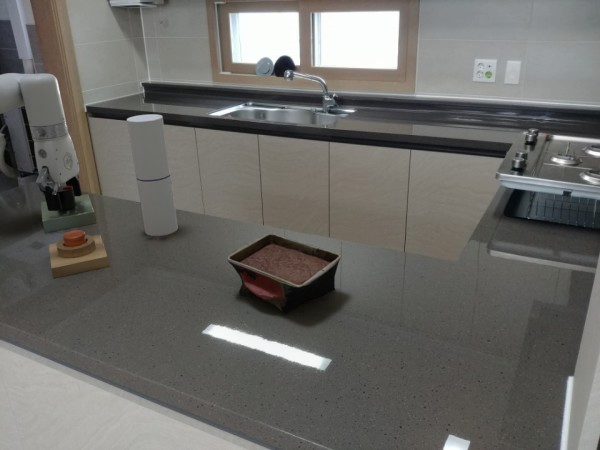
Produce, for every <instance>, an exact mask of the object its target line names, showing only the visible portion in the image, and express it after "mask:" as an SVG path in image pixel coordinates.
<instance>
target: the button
mask: <svg viewBox="0 0 600 450" xmlns="http://www.w3.org/2000/svg"><path fill="white" fill-rule="evenodd" d="M85 235H86V232H85V231H84V230H81V229H80V230H79V229H76V230H71V231H68V232H65V233H64V234H63V235H62V239H63V240H64V244H65V246H66V247H75V246H80V245H82V244H85V243H86V237H85Z"/></svg>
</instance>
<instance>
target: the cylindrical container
mask: <svg viewBox="0 0 600 450" xmlns="http://www.w3.org/2000/svg"><path fill="white" fill-rule="evenodd" d="M126 124H127V130H128V136H129V142H130V148H131V154H132V160H133V167H134V173H135V179H136V184H137V185H136V186H137V190H138V197H139V202H140V209H141V216H142V221H143V226H144V233H145V234H146V235H147V236H151V237H161V236H168V235H170V234H173V233H176V232H177V231H178V229H179V226H178V218H177V211H176V204H175V198H174V190H173V189H174V188H173V183H172V182H173V181H172V175H171V167H170V160H169V152H168V146H167V145H168V144H167V139H166V131H165V125H164V117H163V115H161V114H156V113H155V114H154V113H153V114H140V115H134V116H130V117H128V118H126Z"/></svg>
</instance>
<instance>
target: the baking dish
mask: <svg viewBox="0 0 600 450" xmlns="http://www.w3.org/2000/svg"><path fill="white" fill-rule="evenodd" d="M341 258H342V254H341V253H339V252H336V251H332V250H328V249H325V248H322V247H318V246H316V245H313V244H310V243H307V242H304V241H303V242H302V241H299V240H296V239H292V238H289V237H285V236H282V235H280V234H276V233H266V234H264V235H261V236H259V237H257V238H254V239H253V240H251V241H249V242H247V243H246V244H244V245H242V246H241V247H239V248H237V249H235V250H233V251H232V252H231V253H230V254H228V256H227V257H226V259H227V262H228V263H229V264H230V265H231V266H232V267H233V269H234V270H235V271H236V273H237V274H238V276H239V278H240V280H241V286H240V289H239V291H238V295H239V296H240V295H242V294H243V293H244V292H245V291H247V290H248V291H249V292H250V293H252V294H253V295H254V296H256V297H258V298H261V299H262V300H264V301H266V302H267V303H269V304H271V305H273V306H275V307H276V308H277V309H279V311H281V313H283V314H284V315H286V314H287V313H289V312H290V311H291V310H293V309H294V308H295V307H297V306H298V305H299V304H300V303H302V302H303V301H304V300H309V299H314V298H319V297H323V296H326V295H328V294H329V293H331V292H333V291H334V290H336V288H335V284H336V283H335V282H336V281H335V280H336V279H335V278H336V274H337V270H338V266H339V263H340V261H341Z"/></svg>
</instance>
